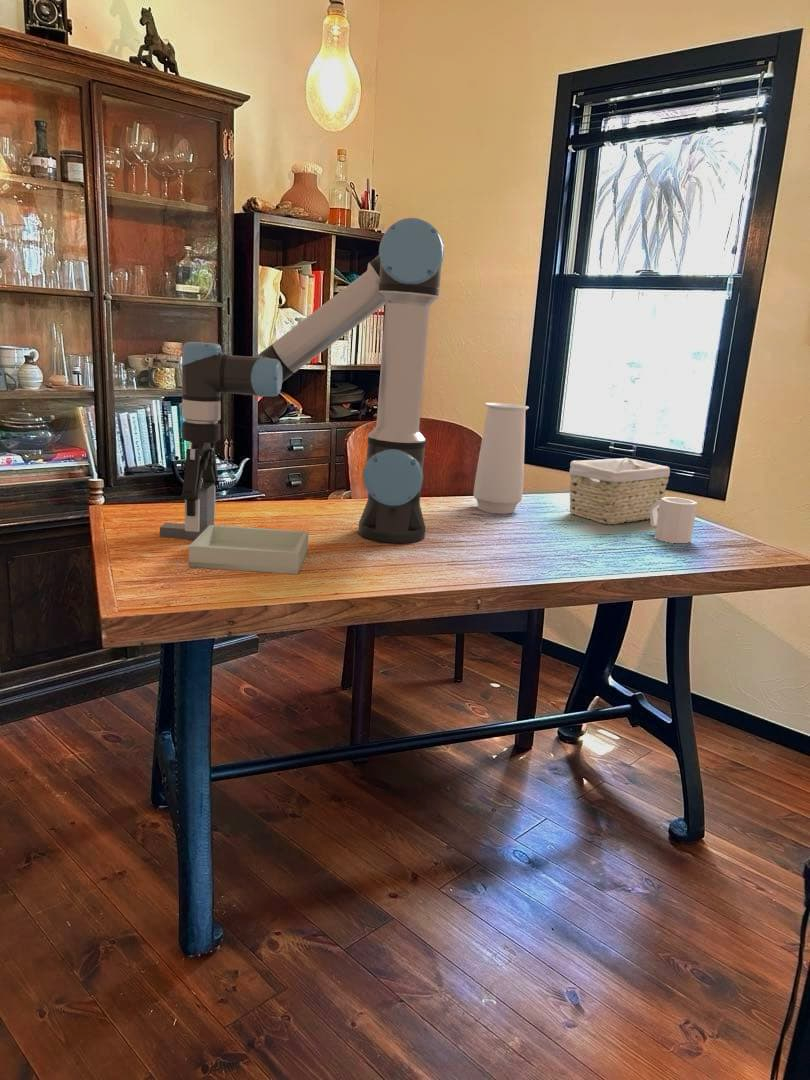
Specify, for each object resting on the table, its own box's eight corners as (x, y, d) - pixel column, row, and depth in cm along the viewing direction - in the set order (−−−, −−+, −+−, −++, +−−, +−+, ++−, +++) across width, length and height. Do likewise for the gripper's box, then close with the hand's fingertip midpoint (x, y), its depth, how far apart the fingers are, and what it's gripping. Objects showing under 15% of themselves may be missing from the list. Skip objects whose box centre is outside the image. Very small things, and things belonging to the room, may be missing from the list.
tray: (307, 550, 157) (308, 531, 156) (297, 574, 142) (298, 553, 141) (209, 543, 157) (209, 524, 156) (188, 567, 141) (188, 546, 140)
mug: (697, 542, 188) (704, 503, 185) (674, 545, 183) (681, 505, 181) (658, 530, 197) (664, 493, 195) (635, 533, 193) (641, 494, 190)
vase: (473, 502, 215) (483, 401, 207) (520, 507, 213) (531, 405, 206) (470, 512, 202) (481, 405, 195) (520, 517, 201) (532, 409, 193)
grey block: (213, 533, 164) (214, 483, 162) (207, 541, 159) (207, 488, 156) (166, 530, 164) (166, 480, 161) (158, 537, 158) (157, 485, 156)
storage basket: (606, 527, 197) (614, 470, 193) (560, 513, 210) (567, 459, 206) (665, 520, 210) (674, 467, 207) (618, 507, 223) (626, 456, 219)
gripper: (198, 413, 167) (197, 508, 173) (164, 427, 143) (165, 536, 149) (232, 415, 167) (231, 510, 173) (204, 430, 143) (203, 539, 149)
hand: (200, 523), depth 161 cm, fingers open, 13 cm apart
